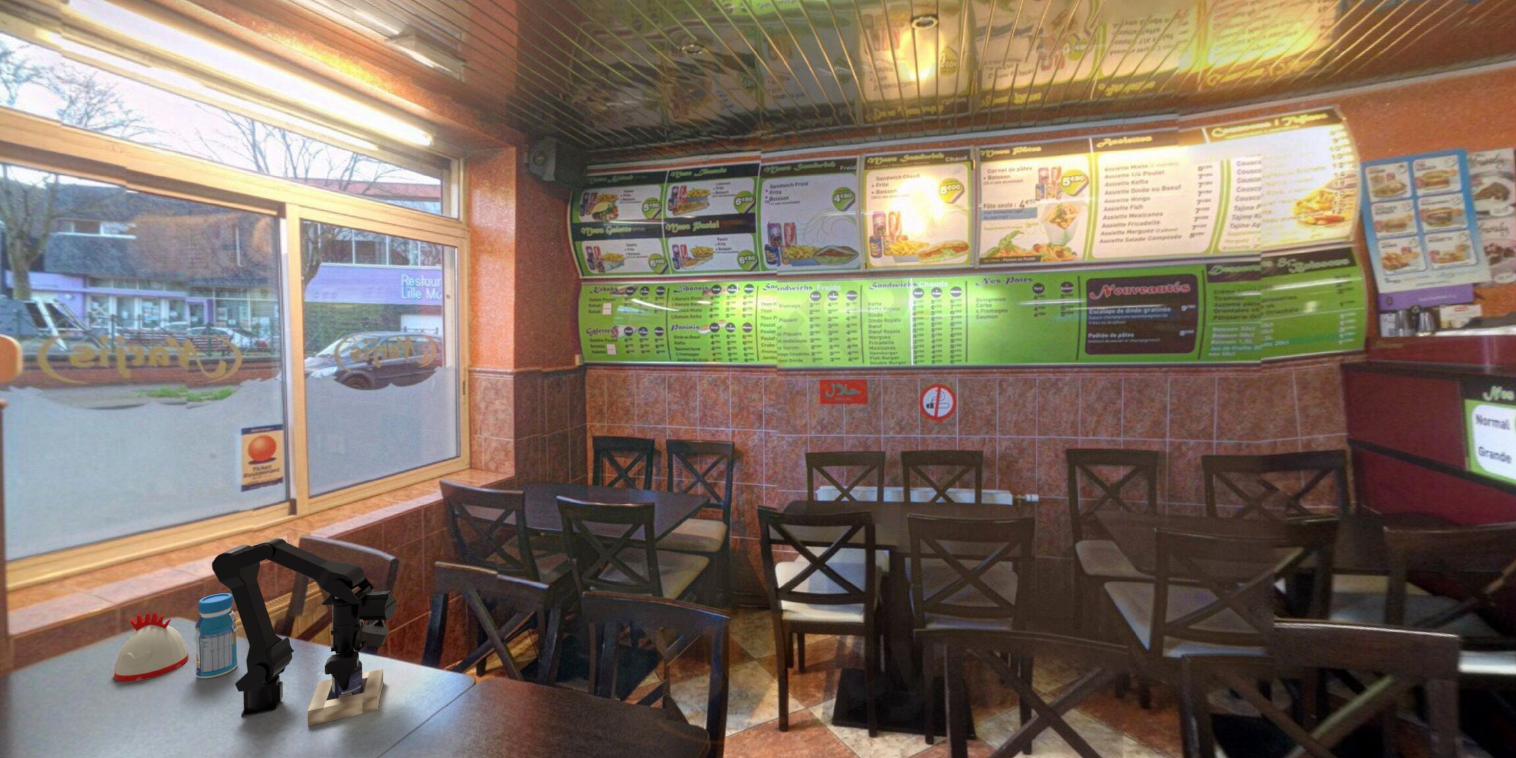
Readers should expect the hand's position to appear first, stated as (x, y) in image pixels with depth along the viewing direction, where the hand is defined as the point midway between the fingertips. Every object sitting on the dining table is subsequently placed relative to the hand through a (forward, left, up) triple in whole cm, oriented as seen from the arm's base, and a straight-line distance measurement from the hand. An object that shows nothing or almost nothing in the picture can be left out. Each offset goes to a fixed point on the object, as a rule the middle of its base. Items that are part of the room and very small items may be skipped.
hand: (347, 682), depth 144 cm
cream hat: (-49, +42, -5) cm, 65 cm away
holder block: (0, 0, -5) cm, 5 cm away
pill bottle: (0, 0, -4) cm, 4 cm away
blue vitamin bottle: (-33, +32, -5) cm, 46 cm away
